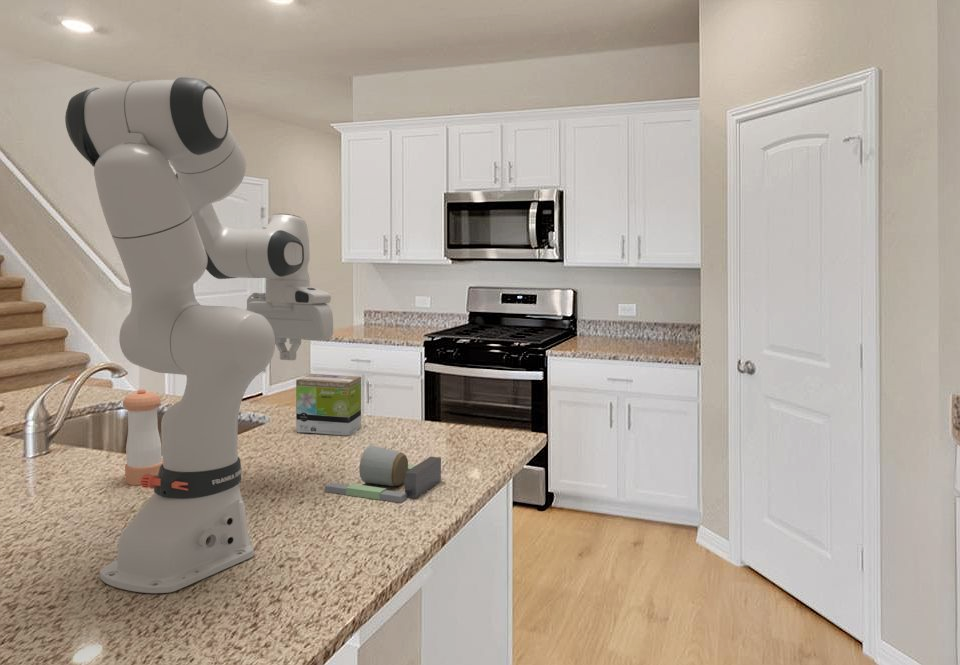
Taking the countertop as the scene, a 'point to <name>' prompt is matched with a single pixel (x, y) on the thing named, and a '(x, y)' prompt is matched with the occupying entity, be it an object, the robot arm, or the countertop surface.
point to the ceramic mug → (383, 466)
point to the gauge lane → (367, 491)
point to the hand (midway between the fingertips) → (288, 359)
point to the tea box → (328, 404)
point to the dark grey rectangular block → (422, 477)
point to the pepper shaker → (142, 436)
